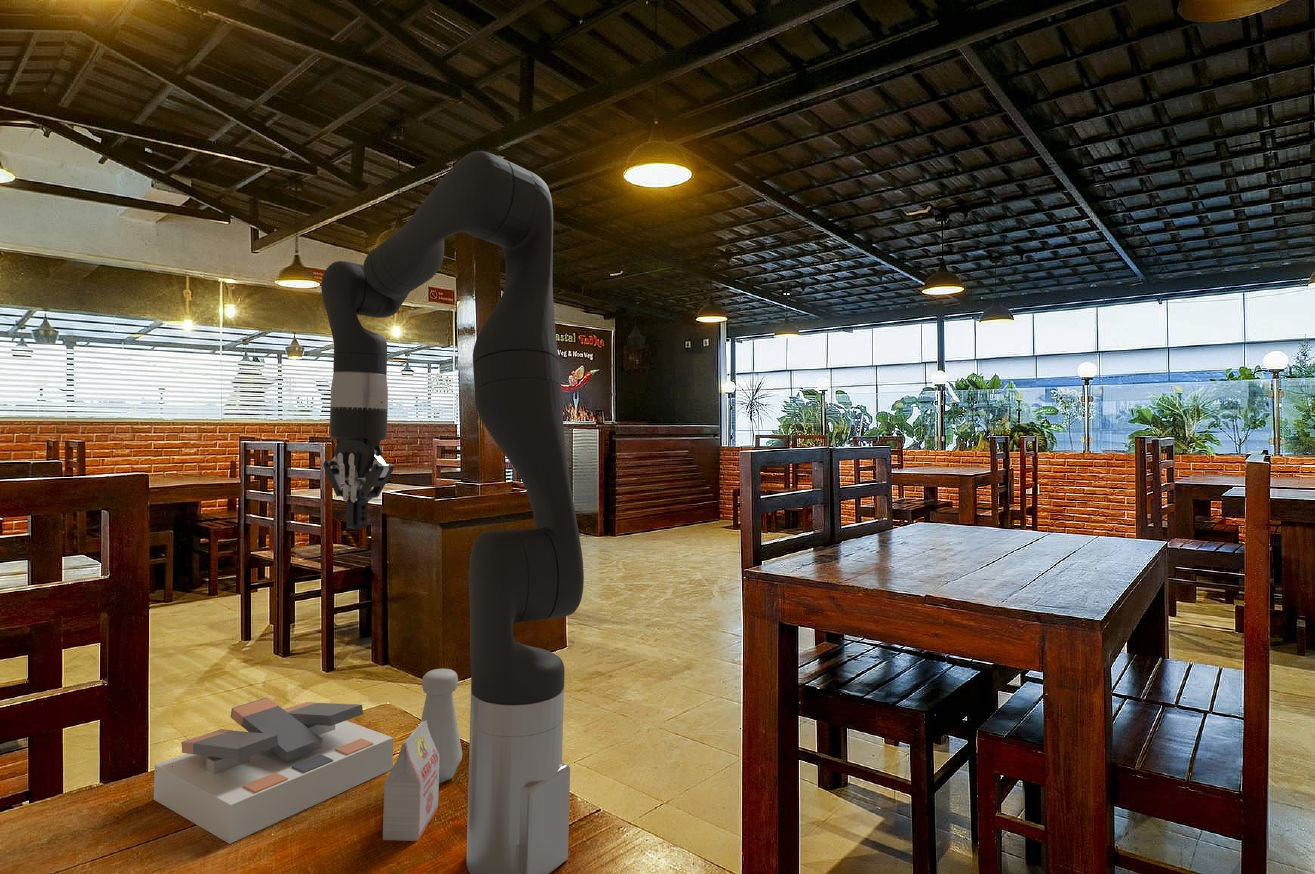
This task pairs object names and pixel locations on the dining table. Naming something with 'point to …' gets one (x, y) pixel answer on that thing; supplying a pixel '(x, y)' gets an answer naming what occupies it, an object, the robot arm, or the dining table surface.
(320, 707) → the switch
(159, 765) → the switch box
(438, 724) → the salt shaker
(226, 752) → the switch
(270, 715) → the switch
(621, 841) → the dining table surface
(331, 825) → the dining table surface
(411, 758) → the white gabled box
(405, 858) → the dining table surface
